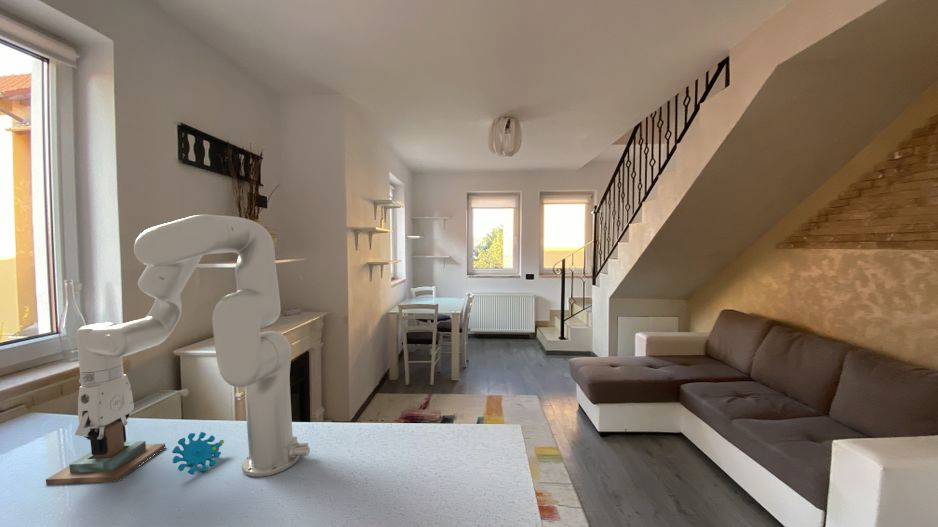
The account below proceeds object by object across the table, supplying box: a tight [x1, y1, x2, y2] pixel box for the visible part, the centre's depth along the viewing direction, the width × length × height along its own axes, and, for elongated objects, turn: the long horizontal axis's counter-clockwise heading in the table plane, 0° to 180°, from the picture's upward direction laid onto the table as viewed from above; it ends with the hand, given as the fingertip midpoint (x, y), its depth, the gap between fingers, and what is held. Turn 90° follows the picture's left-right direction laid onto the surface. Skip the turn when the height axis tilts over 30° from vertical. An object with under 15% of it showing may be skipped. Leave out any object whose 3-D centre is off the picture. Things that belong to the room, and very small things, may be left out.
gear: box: [171, 431, 225, 475], centre depth 93 cm, size 11×6×10 cm
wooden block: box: [95, 421, 125, 459], centre depth 94 cm, size 4×4×8 cm
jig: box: [45, 440, 166, 485], centre depth 94 cm, size 16×14×3 cm
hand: (109, 447), depth 94 cm, fingers closed on wooden block, 4 cm apart
